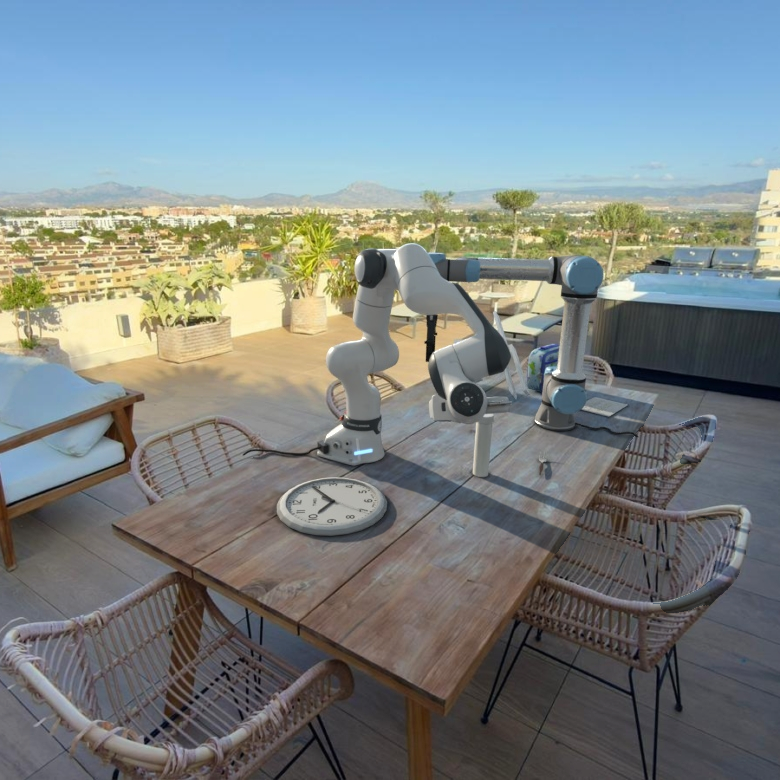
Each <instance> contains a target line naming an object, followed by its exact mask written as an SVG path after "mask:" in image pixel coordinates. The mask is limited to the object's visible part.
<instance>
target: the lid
mask: <svg viewBox="0 0 780 780" xmlns="http://www.w3.org/2000/svg"><path fill="white" fill-rule="evenodd" d="M494 415H495V414H485V415H484V416H483V418H482V419H481V420H479V421H478V423H482V424H490V423H492V424H493V422H494V419H495V416H494Z"/></svg>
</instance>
